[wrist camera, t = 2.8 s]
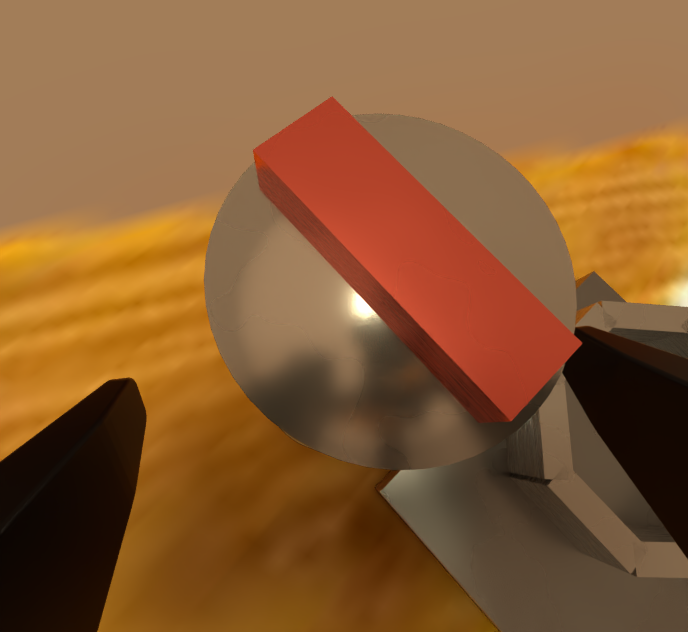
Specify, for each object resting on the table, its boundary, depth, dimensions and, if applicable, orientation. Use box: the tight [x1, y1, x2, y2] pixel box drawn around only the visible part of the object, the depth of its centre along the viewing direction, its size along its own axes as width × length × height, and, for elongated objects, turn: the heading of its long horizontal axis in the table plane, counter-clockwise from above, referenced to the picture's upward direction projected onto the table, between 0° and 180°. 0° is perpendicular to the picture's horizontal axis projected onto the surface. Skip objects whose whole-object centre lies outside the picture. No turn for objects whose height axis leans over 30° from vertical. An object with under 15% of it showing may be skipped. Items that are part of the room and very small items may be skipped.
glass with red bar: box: [204, 97, 582, 470], centre depth 11 cm, size 5×5×13 cm
